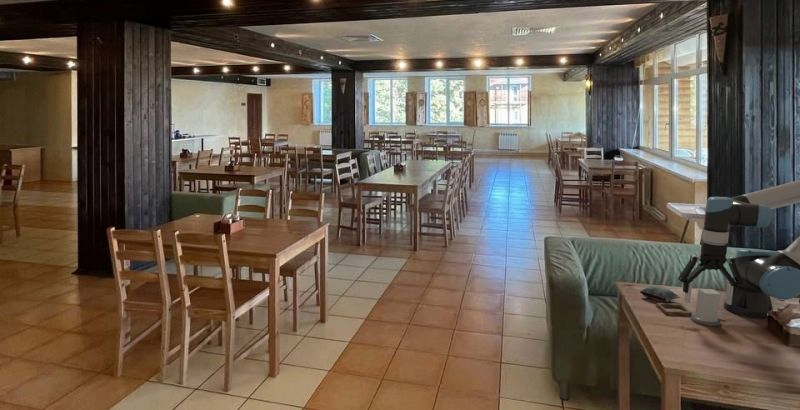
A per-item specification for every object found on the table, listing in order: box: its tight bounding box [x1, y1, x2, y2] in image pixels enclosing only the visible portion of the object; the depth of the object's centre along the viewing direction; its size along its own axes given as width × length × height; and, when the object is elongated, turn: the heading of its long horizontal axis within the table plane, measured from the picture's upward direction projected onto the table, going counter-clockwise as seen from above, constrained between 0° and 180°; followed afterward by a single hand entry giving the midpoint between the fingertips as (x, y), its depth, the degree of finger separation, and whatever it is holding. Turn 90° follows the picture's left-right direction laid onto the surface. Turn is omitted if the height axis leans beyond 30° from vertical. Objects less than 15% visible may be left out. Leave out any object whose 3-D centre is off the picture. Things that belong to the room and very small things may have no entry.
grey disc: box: [690, 313, 721, 327], centre depth 185 cm, size 9×9×1 cm
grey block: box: [694, 288, 721, 322], centre depth 184 cm, size 5×5×10 cm
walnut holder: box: [655, 302, 693, 317], centre depth 194 cm, size 9×9×1 cm
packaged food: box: [639, 285, 681, 303], centre depth 206 cm, size 9×12×5 cm
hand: (707, 302), depth 184 cm, fingers open, 13 cm apart
